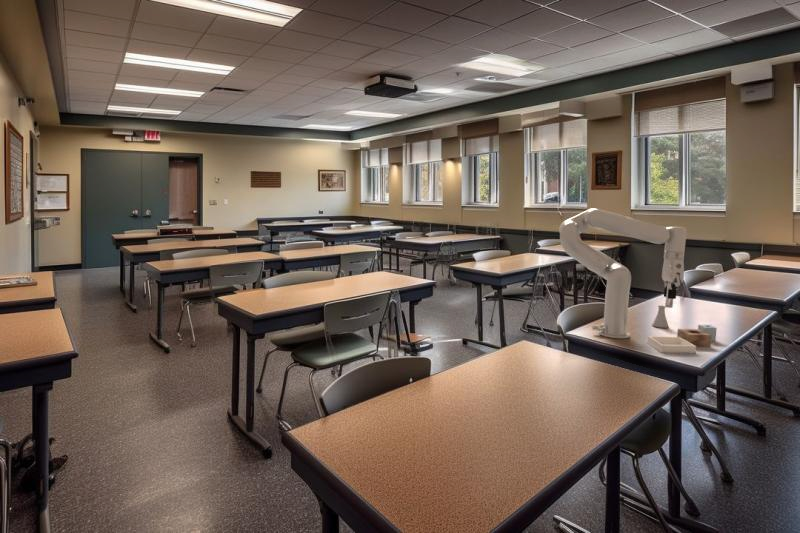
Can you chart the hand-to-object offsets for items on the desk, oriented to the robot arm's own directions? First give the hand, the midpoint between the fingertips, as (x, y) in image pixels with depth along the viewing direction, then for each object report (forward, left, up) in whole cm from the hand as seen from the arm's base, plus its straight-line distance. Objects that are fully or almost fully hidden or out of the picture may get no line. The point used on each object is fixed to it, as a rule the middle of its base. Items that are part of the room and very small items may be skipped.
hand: (669, 297), depth 208 cm
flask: (+7, +22, -19) cm, 30 cm away
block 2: (+17, +1, -19) cm, 25 cm away
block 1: (+8, -6, -18) cm, 21 cm away
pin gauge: (0, 0, -4) cm, 4 cm away
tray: (-5, -14, -18) cm, 24 cm away
